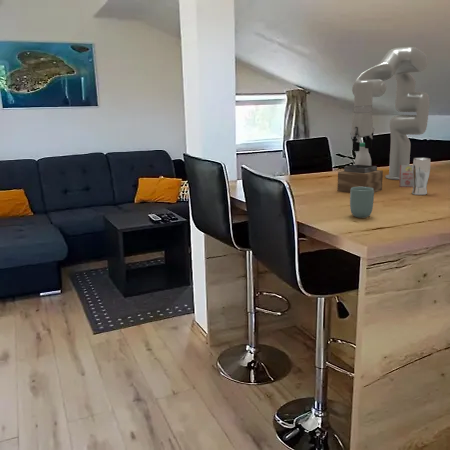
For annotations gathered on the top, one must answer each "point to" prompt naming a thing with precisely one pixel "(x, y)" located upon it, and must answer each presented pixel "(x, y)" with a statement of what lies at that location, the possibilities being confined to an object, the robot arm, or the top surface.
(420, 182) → the beer glass
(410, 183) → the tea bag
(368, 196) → the cup
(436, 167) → the top surface
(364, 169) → the housing
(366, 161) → the milk bottle
